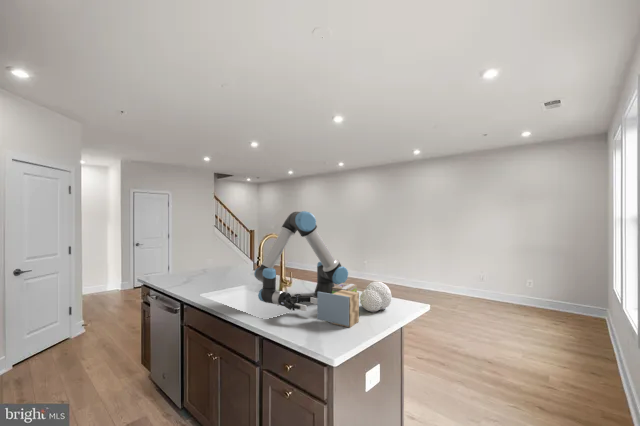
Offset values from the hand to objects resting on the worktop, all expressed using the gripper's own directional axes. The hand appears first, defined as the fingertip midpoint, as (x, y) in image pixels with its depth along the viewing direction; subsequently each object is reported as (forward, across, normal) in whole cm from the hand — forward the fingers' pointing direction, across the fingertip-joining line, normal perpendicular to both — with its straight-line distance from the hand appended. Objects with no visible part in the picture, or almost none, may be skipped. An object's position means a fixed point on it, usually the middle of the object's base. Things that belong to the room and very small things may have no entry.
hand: (313, 305), depth 157 cm
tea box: (+6, -22, -8) cm, 24 cm away
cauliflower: (+20, -36, -8) cm, 42 cm away
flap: (+11, -1, -7) cm, 13 cm away
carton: (+15, -6, -8) cm, 19 cm away
